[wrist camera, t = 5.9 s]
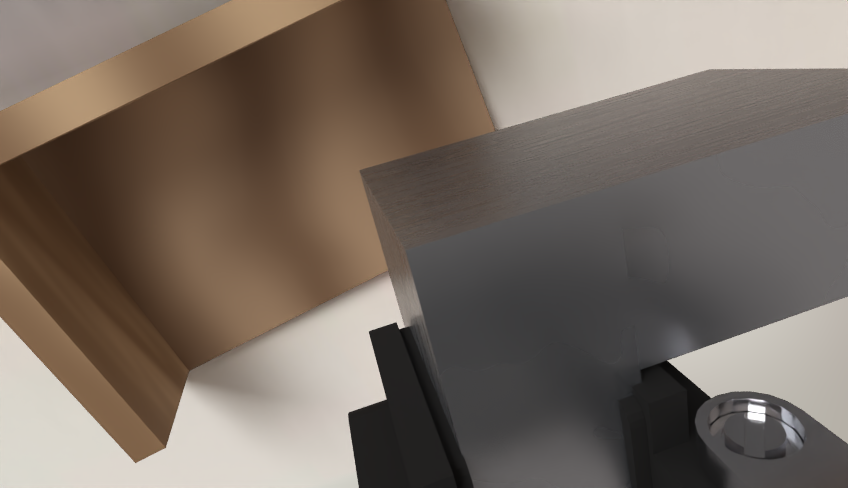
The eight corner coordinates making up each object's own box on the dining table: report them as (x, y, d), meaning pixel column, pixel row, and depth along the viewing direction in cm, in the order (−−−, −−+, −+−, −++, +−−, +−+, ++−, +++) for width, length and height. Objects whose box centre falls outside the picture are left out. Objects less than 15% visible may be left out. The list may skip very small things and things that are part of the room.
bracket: (359, 170, 10) (405, 249, 6) (709, 69, 11) (998, 67, 7) (453, 494, 13) (537, 728, 8) (730, 392, 14) (946, 553, 9)
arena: (413, -73, 21) (452, -106, 16) (517, 198, 26) (572, 239, 21) (-25, 138, 20) (-132, 174, 15) (167, 375, 25) (135, 463, 20)
